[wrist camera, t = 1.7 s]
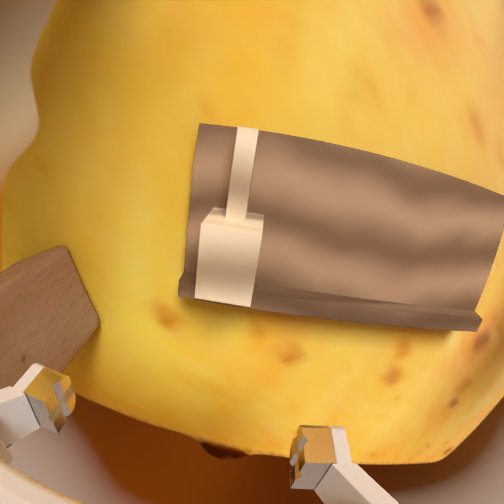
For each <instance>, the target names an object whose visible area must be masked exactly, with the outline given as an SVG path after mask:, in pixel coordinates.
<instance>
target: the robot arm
mask: <svg viewBox="0 0 504 504" xmlns="http://www.w3.org/2000/svg"><path fill="white" fill-rule="evenodd" d="M71 384H72V382H71V379H70V377H69V376H67V375H64V374H62V373H60V372H57V371H55V370H53V369H50V368H48V367H46V366H43V365H41V364H39V363H35V364H33V365H32V366H31V367H30V368H29V369H28V370H27V371H26V372H25V374H24V375H23V376H22V377H21V378H20V379H19V380H18V382H17V383H16V384H15V385H14V386H13V387H11V386H9V387H6V388H3V389H0V504H84V503H82V502H79V501H77V500H75V499H73V498H70V497H68V496H66V495H64V494H62V493H59V492H57V491H55V490H53V489H51V488H49V487H47V486H45V485H43V484H42V483H39V482H38V481H36V480H34V479H32V478H30V477H29V476H27V475H25V474H23V473H22V472H20V471H18V470H17V469H15V468H13V467H12V466H10V465H9V464H10V462H11V461H12V455H11V454H10V452H9V451H8V449H7V448H6V447H7V446H8V445H10V444H12V443H13V442H16V441H17V440H19V439H21V438H23V437H25V436H26V435H28V434H30V433H32V432H33V431H35V430H37V429H39V428H40V427H42V428H45V429H47V430H49V431H52V432H54V433H56V434H59V432H60V431H61V429H62V427H63V426H64V424H65V417H66V416H68V415H70V414H71V413H72V411H73V409H74V406H75V402H76V398H75V397H76V396H75V393H74V391H73V390H72V389H71V387H70V385H71ZM290 464H291V465H292V466H293V468H292V470H291V472H290V483H291V488H297V489H315V492H316V493H317V494H318V496H319V497H320V498H321V500H322V501H323V502H324V504H398V502H397V501H396V500H395V499H394V498H392V497H391V496H390V495H389V494H388V493H387V492H386V491H385V490H384V489H383V488H382V487H381V486H379V485H378V484H377V483H376V482H375V481H374V480H373V479H372V478H371V477H370V476H369V475H368V474H367V473H366V472H364V470H362V469H361V468H360V467H359V466H358V465H357V464H356V463H352V460H351V455H350V450H349V445H348V441H347V436H346V431H345V428H344V427H335V426H312V425H300V426H299V427H298V430H297V437H296V438H294V439H293V442H292V444H291V449H290Z"/></svg>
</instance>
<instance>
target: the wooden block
mask: <svg viewBox="0 0 504 504" xmlns="http://www.w3.org/2000/svg"><path fill="white" fill-rule="evenodd" d="M99 323H100V321H99V316H98V314H97V312H96V310H95V308H94V306H93V304H92V302H91V300H90V298H89V296H88V294H87V291H86V289H85V287H84V285H83V283H82V281H81V278H80V276H79V274H78V272H77V269H76V267H75V265H74V262H73V260H72V257H71V255H70V253H69V251H68V249H67V248H66V247H62V246H56V247H54V248H51V249H49V250H46V251H44V252H41V253H39V254H36V255H34V256H31V257H29V258H27V259H24V260H22V261H19V262H17V263H15V264H13V265H12V266H10V267H9V268H7V269H6V270H4V271H2V272H1V273H0V389H3V388H6V387H9V386H11V387H13V386H14V385H15V384H16V383H17V382H18V380H19V379H20V378H21V377H22V376H23V375H24V374H25V372H26V371H27V370H28V369H29V368H30V367H31V366H32V365H33V364H35V363H39V364H41V365H43V366H46V367H48V368H50V369H53V370H55V371H57V372H60V373H62V372H63V371H64V370H65V368H66V367H67V366H68V364H69V363H70V362H71V360H72V359H73V358H74V356H75V355H76V354H77V353H78V351H79V350H80V349H81V347H82V346H83V345H84V344H85V342H86V341H87V340H88V339H89V337H90V336H91V335H92V334H93V332H94V331H95V330H96V329H97V327H98V326H99ZM10 446H11V444H10V445H8V446H7V447H6V448H8V447H10Z"/></svg>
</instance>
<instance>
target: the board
mask: <svg viewBox="0 0 504 504" xmlns="http://www.w3.org/2000/svg"><path fill="white" fill-rule="evenodd" d="M237 129H238V127H230V126H221V125H212V124H202V123H199V129H198V137H197V144H196V152H195V160H194V169H193V178H192V187H191V196H190V206H189V217H188V228H187V240H186V253H185V267H184V273H183V274H182V276H181V278H180V279H179V287H178V296H179V297H184V298H190V299H195V300H201V301H207V302H213V303H219V304H225V305H231V306H237V307H244V308H250V309H257V310H263V311H270V312H277V313H284V314H292V315H299V316H307V317H315V318H323V319H331V320H340V321H349V322H358V323H367V324H377V325H388V326H399V327H411V328H424V329H438V330H453V331H472V332H477V330H478V328H479V326H480V324H481V322H482V319H481V317H480V316H479V315H478V314H477V313H476V312H475V309H476V306H477V304H478V301H479V299H480V297H481V294H482V292H483V289H484V286H485V284H486V281H487V279H488V276H489V273H490V270H491V267H492V264H493V262H494V259H495V256H496V252H497V249H498V246H499V243H500V240H501V236H502V233H503V229H504V196H503V195H501V194H498V193H496V192H493V191H491V190H488V189H486V188H483V187H480V186H478V185H475V184H472V183H470V182H467V181H464V180H461V179H458V178H456V177H453V176H450V175H447V174H444V173H441V172H438V171H434V170H431V169H428V168H425V167H422V166H418V165H415V164H412V163H408V162H405V161H401V160H398V159H394V158H390V157H387V156H383V155H379V154H375V153H371V152H367V151H363V150H359V149H355V148H350V147H346V146H341V145H337V144H332V143H327V142H323V141H318V140H313V139H307V138H302V137H297V136H291V135H285V134H279V133H273V132H266V131H260V130H259V135H258V142H257V148H256V155H255V161H254V168H253V175H252V181H251V188H250V195H249V202H248V208H247V212H250V213H256V214H263V215H264V220H263V233H262V239H261V245H260V252H259V258H258V264H257V270H256V276H255V282H254V288H253V294H252V300H251V306H250V307H247V306H241V305H234V304H228V303H222V302H216V301H210V300H204V299H198V298H195V286H196V274H197V262H198V251H199V240H200V230H201V223H202V222H203V220H204V219H205V218H206V217H207V215H208V214H209V213H210V212H211V210H212V209H213V208H214V207H216V208H223V209H226V208H227V201H228V193H229V186H230V178H231V171H232V164H233V157H234V150H235V143H236V136H237Z"/></svg>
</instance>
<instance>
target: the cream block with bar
mask: <svg viewBox="0 0 504 504" xmlns="http://www.w3.org/2000/svg"><path fill="white" fill-rule="evenodd" d="M258 135H259V129H254V128H247V127H239V126H238V129H237V136H236V143H235V150H234V157H233V164H232V171H231V178H230V186H229V193H228V201H227V208H226V209H223V208H216V207H214V208H213V209H212V210H211V212H210V213H209V214H208V215H207V217H206V218H205V219H204V220H203V222H202V223H201V230H200V240H199V251H198V262H197V274H196V286H195V298H198V299H204V300H210V301H216V302H222V303H228V304H234V305H241V306H247V307H250V306H251V300H252V294H253V288H254V282H255V276H256V270H257V264H258V258H259V252H260V245H261V239H262V233H263V220H264V215H263V214H256V213H250V212H247V208H248V202H249V195H250V188H251V181H252V175H253V168H254V161H255V155H256V148H257V142H258Z"/></svg>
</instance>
